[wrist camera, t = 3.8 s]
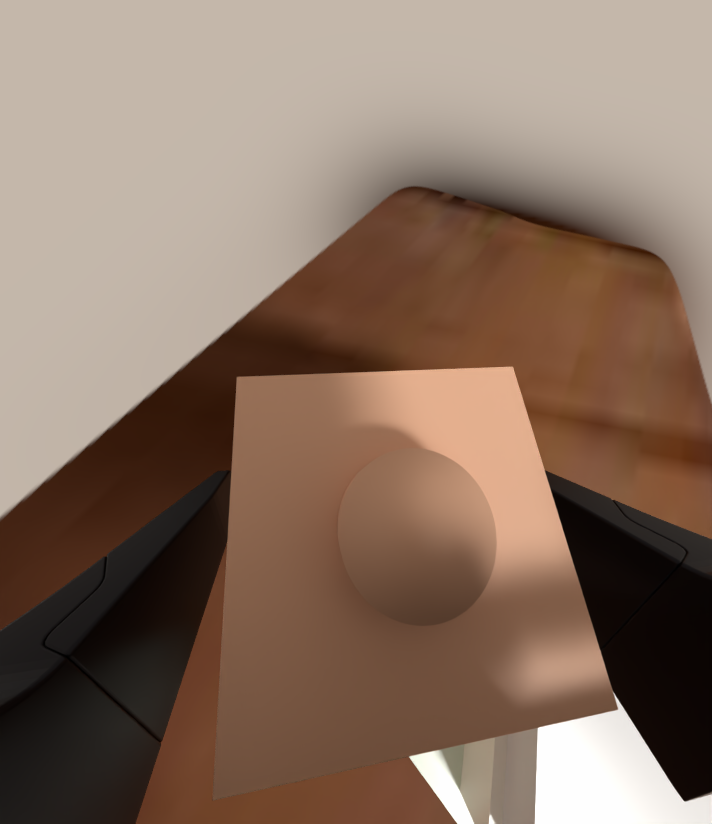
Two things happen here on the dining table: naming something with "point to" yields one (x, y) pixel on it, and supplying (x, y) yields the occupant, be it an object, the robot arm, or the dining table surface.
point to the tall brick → (392, 576)
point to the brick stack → (573, 777)
